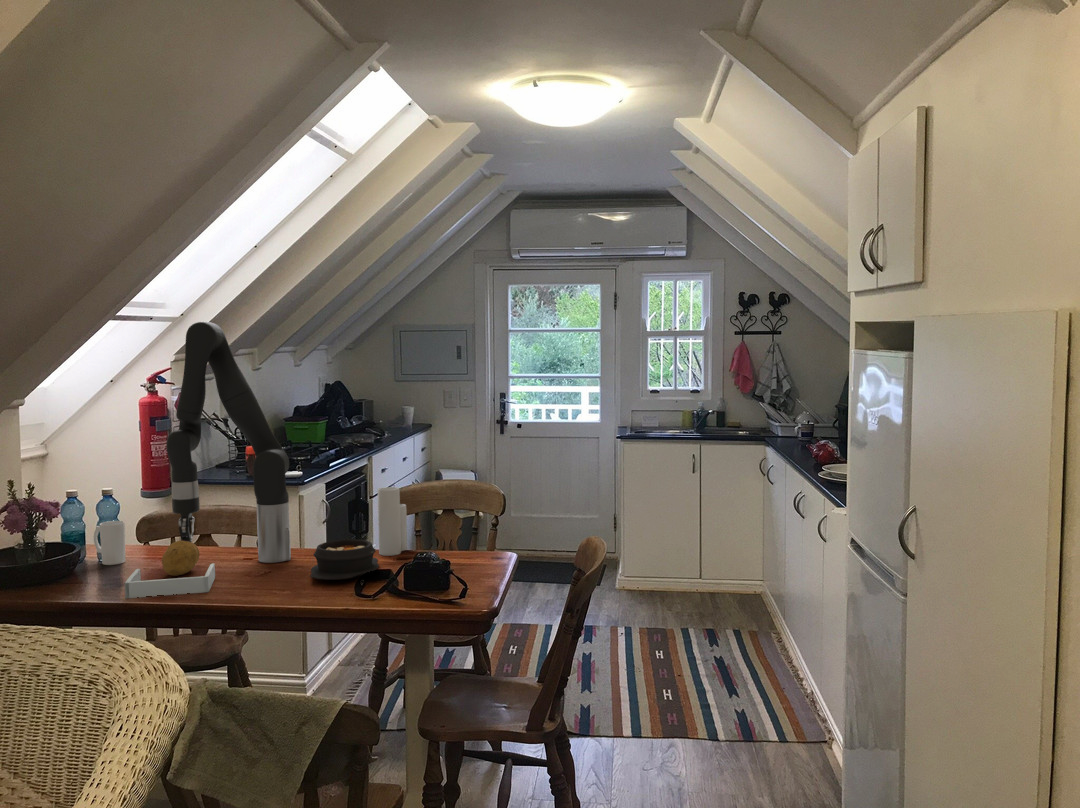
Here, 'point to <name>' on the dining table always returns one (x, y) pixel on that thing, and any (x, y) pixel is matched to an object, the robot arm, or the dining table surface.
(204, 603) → the dining table surface
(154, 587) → the bin
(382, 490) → the vase
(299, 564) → the dining table surface
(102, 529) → the mug
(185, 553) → the potato
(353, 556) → the casserole
